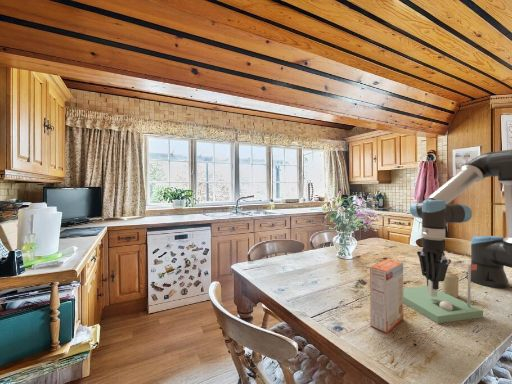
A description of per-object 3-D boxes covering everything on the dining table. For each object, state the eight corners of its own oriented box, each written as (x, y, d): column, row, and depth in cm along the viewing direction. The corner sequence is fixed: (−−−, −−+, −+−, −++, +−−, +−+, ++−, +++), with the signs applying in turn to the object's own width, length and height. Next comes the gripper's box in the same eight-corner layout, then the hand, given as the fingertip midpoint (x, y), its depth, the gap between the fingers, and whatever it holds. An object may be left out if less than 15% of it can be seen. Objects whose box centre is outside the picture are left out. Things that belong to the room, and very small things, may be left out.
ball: (443, 305, 92) (447, 298, 90) (453, 314, 88) (457, 306, 87) (435, 306, 91) (438, 299, 89) (444, 315, 87) (448, 307, 86)
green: (430, 290, 107) (430, 250, 107) (484, 316, 86) (485, 267, 85) (390, 294, 103) (390, 253, 103) (437, 323, 82) (438, 271, 81)
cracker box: (386, 312, 89) (387, 258, 89) (404, 319, 85) (404, 262, 84) (368, 325, 81) (369, 266, 80) (387, 334, 76) (387, 270, 75)
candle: (442, 290, 107) (442, 269, 107) (457, 294, 104) (458, 272, 104) (442, 295, 103) (442, 272, 103) (458, 298, 99) (458, 275, 99)
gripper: (411, 235, 100) (411, 289, 100) (441, 242, 87) (440, 304, 87) (426, 234, 101) (425, 288, 101) (457, 241, 88) (456, 302, 89)
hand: (432, 295), depth 94 cm, fingers closed
